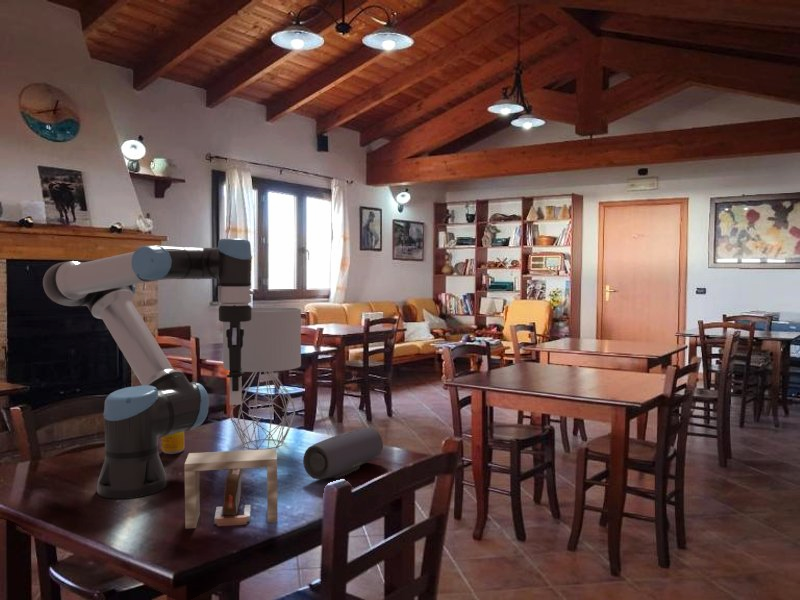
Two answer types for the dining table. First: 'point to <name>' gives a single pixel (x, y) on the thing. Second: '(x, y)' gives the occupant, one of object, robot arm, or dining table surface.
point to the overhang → (228, 461)
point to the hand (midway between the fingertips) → (235, 403)
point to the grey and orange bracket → (232, 517)
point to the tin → (232, 492)
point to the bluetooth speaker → (342, 453)
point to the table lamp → (267, 356)
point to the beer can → (173, 443)
